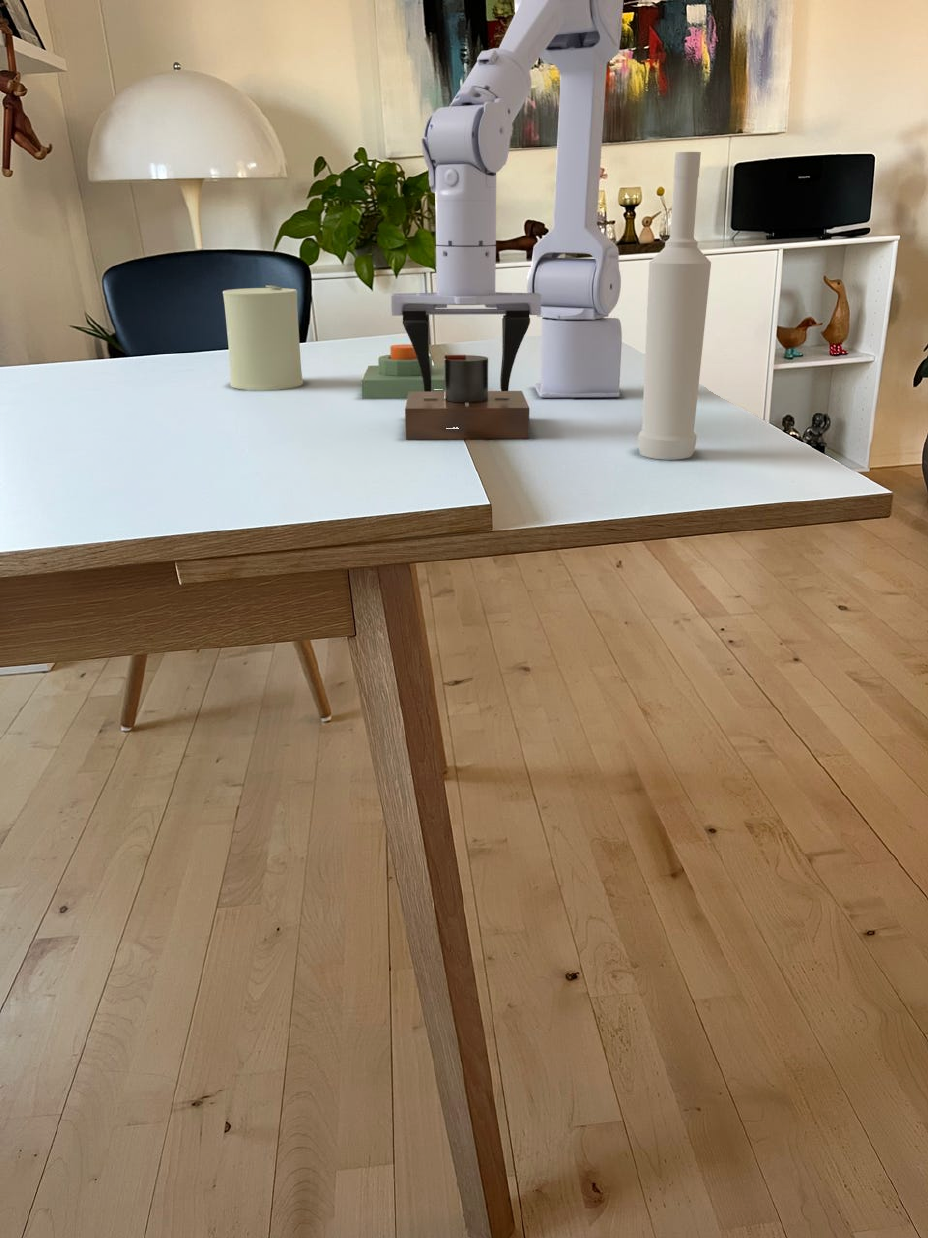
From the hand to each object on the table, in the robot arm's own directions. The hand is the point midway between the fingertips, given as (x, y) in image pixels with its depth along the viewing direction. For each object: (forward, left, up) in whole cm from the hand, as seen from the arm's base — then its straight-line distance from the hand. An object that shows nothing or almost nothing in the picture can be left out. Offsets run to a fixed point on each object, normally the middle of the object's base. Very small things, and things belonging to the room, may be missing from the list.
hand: (466, 389), depth 101 cm
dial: (0, 0, -1) cm, 1 cm away
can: (+25, -29, -4) cm, 39 cm away
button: (+7, -24, 0) cm, 25 cm away
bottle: (-18, +12, -4) cm, 22 cm away
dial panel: (0, 0, -4) cm, 4 cm away
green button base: (+7, -24, -4) cm, 25 cm away
